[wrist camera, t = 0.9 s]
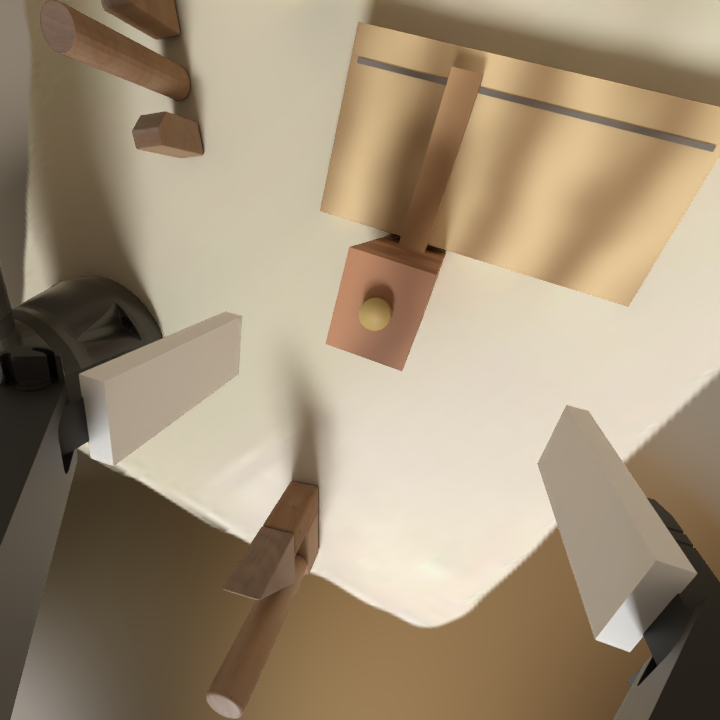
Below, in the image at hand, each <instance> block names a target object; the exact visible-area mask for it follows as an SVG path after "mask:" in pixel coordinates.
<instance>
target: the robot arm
mask: <svg viewBox="0 0 720 720" xmlns="http://www.w3.org/2000/svg"><path fill="white" fill-rule="evenodd" d="M241 325H242V316H240V315H236V314H232V313H229V312H224V313H221V314H219V315H216V316H214V317H212V318H209V319H207V320H205V321H202V322H200V323H198V324H195V325H193V326H191V327H188V328H186V329H183V330H181V331H179V332H176V333H174V334H172V335H169V336H167V337H165V338H162V335H161V332H160V330H159V328H158V325H157V323H156V322H155V320H154V318H153V316H152V315H151V313H150V312H149V311H148V309H147V308H146V307H145V305H144V304H143V303H142V302H141V301H140V300H139V299H138V298H137V297H136V296H135V295H134V294H133V293H131V292H130V291H129V290H128V289H126V288H125V287H123V286H122V285H120V284H118V283H116V282H114V281H112V280H110V279H107V278H103V277H98V276H86V277H80V278H74V279H68V280H64V281H62V282H59V283H57V284H55V285H53V286H52V287H51V288H49V289H47V290H45V291H43V292H41V293H40V294H38V295H36V296H34V297H32V298H31V299H29V300H27V301H25V302H24V303H22V304H20V305H19V306H17V307H15V308H12V309H11V306H10V302H9V298H8V294H7V289H6V285H5V281H4V277H3V272H2V268H1V263H0V720H10V718H11V715H12V711H13V707H14V703H15V699H16V695H17V691H18V687H19V684H20V679H21V676H22V672H23V668H24V664H25V660H26V657H27V653H28V649H29V645H30V641H31V637H32V633H33V630H34V626H35V622H36V618H37V614H38V610H39V606H40V603H41V598H42V595H43V591H44V586H45V583H46V579H47V576H48V572H49V568H50V564H51V560H52V556H53V552H54V548H55V544H56V540H57V536H58V533H59V529H60V525H61V521H62V517H63V514H64V510H65V506H66V502H67V498H68V494H69V490H70V487H71V483H72V479H73V474H74V471H75V467H76V463H77V460H78V459H77V451H76V449H77V448H78V447H80V446H81V445H83V444H85V443H86V442H88V443H89V449H90V456H91V458H92V459H95V460H98V461H101V462H103V463H106V464H109V465H112V466H114V465H116V464H117V463H118V462H120V461H121V460H123V459H124V458H125V457H127V456H128V455H129V454H131V453H132V452H133V451H135V450H136V449H137V448H139V447H140V446H142V445H143V444H144V443H146V442H147V441H148V440H150V439H151V438H152V437H154V436H155V435H156V434H158V433H159V432H161V431H162V430H163V429H165V428H166V427H167V426H169V425H170V424H171V423H173V422H174V421H175V420H177V419H178V418H180V417H181V416H182V415H184V414H185V413H186V412H188V411H189V410H190V409H192V408H193V407H194V406H196V405H197V404H199V403H200V402H201V401H203V400H204V399H205V398H207V397H208V396H209V395H211V394H212V393H213V392H215V391H216V390H218V389H219V388H220V387H222V386H223V385H224V384H226V383H227V382H228V381H230V380H231V379H232V378H234V377H235V376H237V375H238V374H239V359H240V342H241ZM538 466H539V470H540V473H541V476H542V479H543V482H544V485H545V488H546V491H547V494H548V497H549V500H550V503H551V506H552V509H553V512H554V516H555V519H556V522H557V525H558V528H559V531H560V534H561V537H562V540H563V543H564V546H565V549H566V552H567V555H568V558H569V561H570V565H571V568H572V571H573V574H574V577H575V579H576V583H577V585H578V589H579V592H580V595H581V598H582V601H583V604H584V607H585V610H586V613H587V617H588V620H589V622H590V626H591V629H592V632H593V635H594V638H595V640H598V641H600V642H603V643H606V644H609V645H612V646H614V647H617V648H620V649H623V650H625V651H628V652H630V651H631V650H632V649H633V648H634V647H635V645H636V644H637V643H638V642H639V641H640V639H642V637H643V636H644V638H645V640H646V642H647V645H648V647H649V649H650V651H651V654H652V656H651V657H650V658H649V659H648V660H647V661H646V662H645V663H644V665H643V666H642V667H641V668H640V669H639V670H638V671H637V672H636V673H635V674H634V675H633V677H632V678H631V679H630V680H629V681H628V682H627V683H628V684H629V685H630V686H631V688H630V690H629V692H628V694H627V695H626V697H625V699H624V701H623V703H622V704H621V707H620V708H619V710H618V711H617V713H616V715H615V717H614V719H613V720H720V582H719V581H718V579H717V578H716V577H715V575H714V574H713V572H712V571H711V569H710V568H709V567H708V565H707V564H706V562H705V561H704V560H703V558H702V557H701V555H700V554H699V553H698V551H697V550H696V548H693V544H692V543H691V542H690V540H689V539H688V537H687V536H686V535H685V534H683V530H682V529H681V527H680V526H679V525H678V523H677V522H676V521H675V519H674V518H673V516H672V515H671V514H670V513H669V512H667V511H666V510H665V509H664V508H663V507H662V506H661V505H660V504H659V503H658V502H656V501H655V500H654V499H650V498H647V497H646V496H645V495H644V493H643V492H642V490H641V489H640V487H639V486H638V484H637V483H636V481H635V480H634V478H633V477H632V475H631V474H630V472H629V471H628V470H627V468H626V466H625V465H624V463H623V462H622V460H621V459H620V457H619V456H618V454H617V453H616V451H615V450H614V448H613V447H612V445H611V444H610V442H609V441H608V440H607V438H606V437H605V435H604V434H603V432H602V431H601V429H600V428H599V426H598V425H597V423H596V422H595V420H594V419H593V417H592V416H591V414H590V413H589V411H586V410H583V409H579V408H575V407H572V406H568V405H566V407H565V409H564V411H563V413H562V415H561V417H560V419H559V421H558V423H557V425H556V427H555V429H554V431H553V433H552V436H551V438H550V440H549V442H548V444H547V446H546V448H545V450H544V452H543V454H542V456H541V458H540V460H539V462H538Z"/></svg>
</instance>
